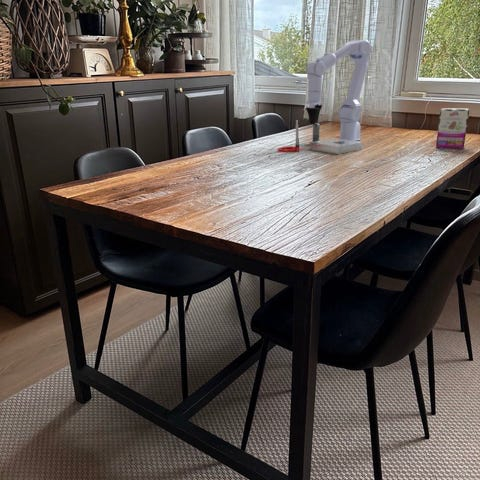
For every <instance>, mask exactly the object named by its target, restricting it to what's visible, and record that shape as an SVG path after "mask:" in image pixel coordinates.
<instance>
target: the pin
mask: <svg viewBox="0 0 480 480" xmlns="http://www.w3.org/2000/svg"><path fill="white" fill-rule="evenodd" d="M320 126H321V125H320V123H319V122H315V124H312V138H311V139H312V141H311V142H314V141H319V140H320V128H321V127H320Z"/></svg>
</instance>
